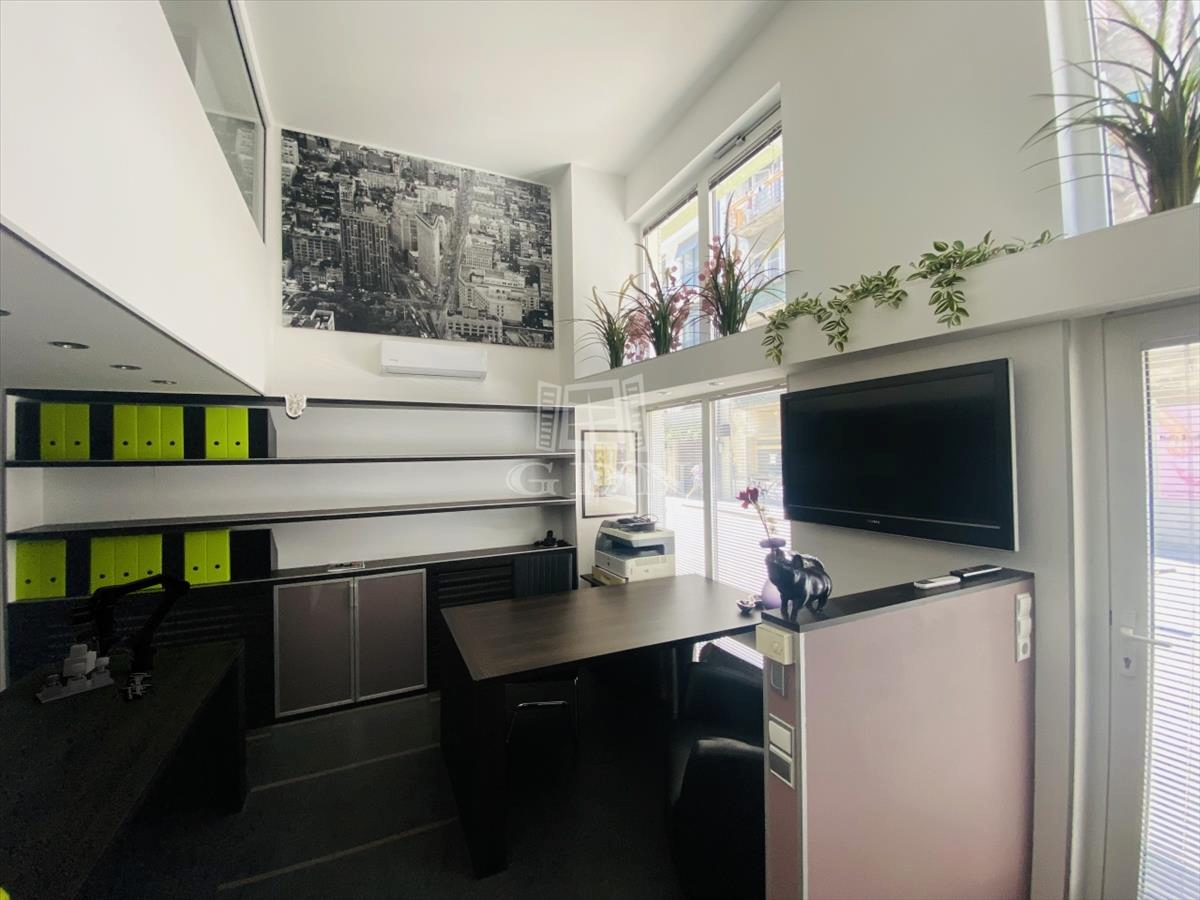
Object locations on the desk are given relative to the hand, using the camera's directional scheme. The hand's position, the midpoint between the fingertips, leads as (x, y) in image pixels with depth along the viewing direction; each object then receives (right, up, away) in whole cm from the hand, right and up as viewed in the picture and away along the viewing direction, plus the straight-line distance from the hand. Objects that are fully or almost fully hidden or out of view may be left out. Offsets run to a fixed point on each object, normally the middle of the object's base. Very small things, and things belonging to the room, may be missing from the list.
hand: (102, 657), depth 188 cm
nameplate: (+17, -12, -3) cm, 20 cm away
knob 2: (0, -7, 0) cm, 7 cm away
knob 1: (-4, -6, -6) cm, 9 cm away
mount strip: (-4, -10, -6) cm, 12 cm away
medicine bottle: (-18, -10, +8) cm, 22 cm away
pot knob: (-7, -6, -11) cm, 15 cm away
